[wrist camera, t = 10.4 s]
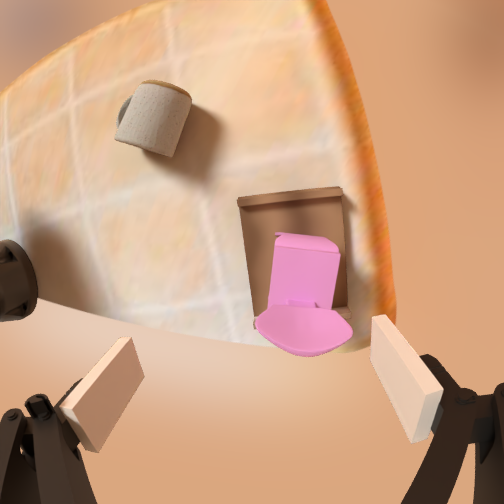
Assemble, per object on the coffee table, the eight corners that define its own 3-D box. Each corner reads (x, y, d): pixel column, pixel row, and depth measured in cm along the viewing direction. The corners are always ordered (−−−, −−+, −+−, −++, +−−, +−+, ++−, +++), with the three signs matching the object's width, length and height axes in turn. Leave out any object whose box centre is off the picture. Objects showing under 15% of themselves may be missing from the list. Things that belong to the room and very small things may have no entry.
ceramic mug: (202, 101, 34) (183, 82, 26) (180, 160, 36) (157, 154, 28) (134, 87, 34) (106, 71, 27) (114, 141, 36) (82, 135, 28)
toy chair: (336, 234, 35) (376, 268, 20) (325, 303, 36) (351, 371, 22) (267, 227, 35) (261, 256, 20) (259, 297, 37) (249, 364, 22)
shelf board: (256, 317, 40) (254, 330, 36) (239, 197, 36) (235, 198, 33) (344, 307, 38) (351, 319, 35) (336, 186, 35) (343, 186, 31)
